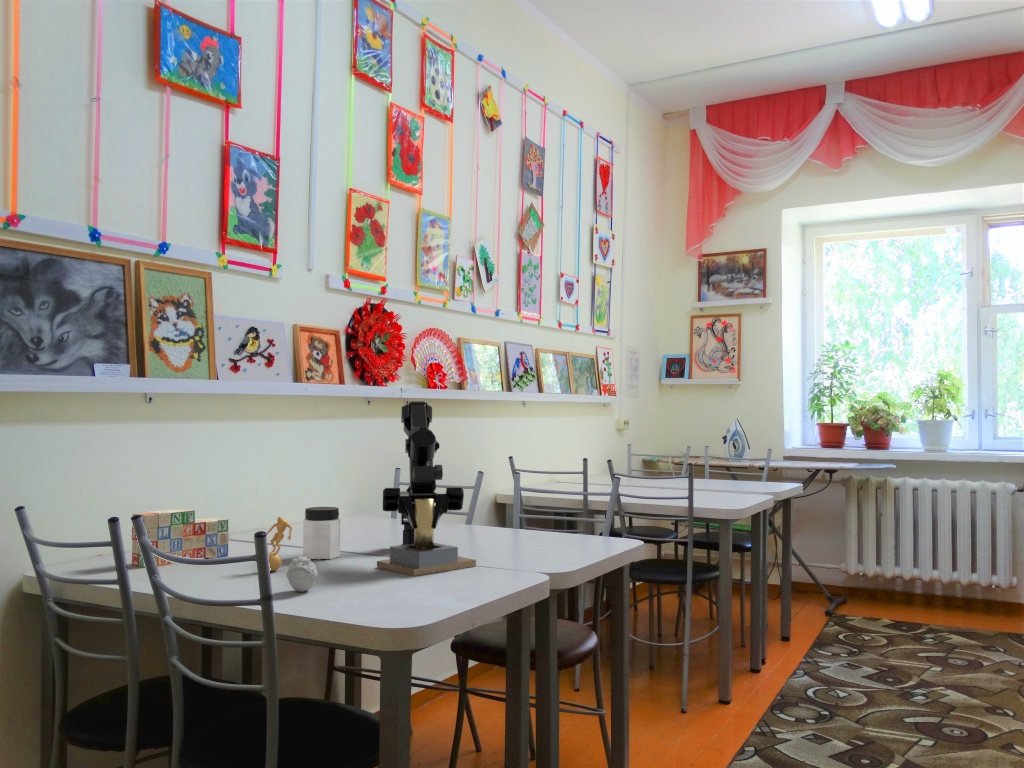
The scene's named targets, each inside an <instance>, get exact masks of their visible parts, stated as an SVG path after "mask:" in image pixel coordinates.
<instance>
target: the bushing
mask: <svg viewBox="0 0 1024 768" xmlns="http://www.w3.org/2000/svg"><path fill="white" fill-rule="evenodd" d="M434 506H435V503H434V499H433V498H417V499H415V529H414V549H419V550H425V549H433V548H434V543H435V541H434V539H435V538H434V536H435V535H434V534H435V533H434V532H435V531H434V530H435V529H434Z"/></svg>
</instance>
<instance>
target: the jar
mask: <svg viewBox="0 0 1024 768" xmlns="http://www.w3.org/2000/svg"><path fill="white" fill-rule="evenodd" d="M304 509H305V510H304V511H305V512H304V513H305V514H304V516H305V517H304V519H303V525H302V530H303V531H302V532H303V533H302V557H307V558H308V559H330V560H333V559H336V557H337V558H339V557H341V518H340V517H339V516H340V509H339V507H336V506H312V507H307V508H304Z"/></svg>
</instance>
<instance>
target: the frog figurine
mask: <svg viewBox="0 0 1024 768" xmlns="http://www.w3.org/2000/svg"><path fill="white" fill-rule="evenodd" d="M318 574H319V573H318V570H317V568H316V565H315V563H314V562H312V560H311V559H307V557H303V556H298V557H297V558H292V559H291V562H290V564H289V565H288V567H287V571H286V573H285V575H286V578H287V580H288V583H289V585H290V586H291V588H292V589H293V590H295V591H297V592H301V593H302V592H303V593H304V592H307V591H309V590H310V589H312V588H313V587H314V585H315V582H316V579H317V578H318V576H319V575H318Z"/></svg>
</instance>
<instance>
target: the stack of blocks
mask: <svg viewBox="0 0 1024 768" xmlns="http://www.w3.org/2000/svg"><path fill="white" fill-rule="evenodd" d="M134 515H141V516H142V517H143V522H144V525H145V527H146V530H147V534H148V538H149V540H150V542H151V543H152V545H153V546H155V547H156V548H157V549H159V550H160V551H163V552H165V553H169V554H172V555H177V556H182V557H190V558H212V559H216V558H217V559H219V558H225V557H228V556H229V519H228V518H221V517H209V518H197V519H196V510H194V509H189V508H188V509H186V508H174V509H161V510H160V509H159V510H155V511H154V510H153V511H146V512H145V511H144V512H133V513H132V517H133V516H134ZM131 546H132V548H131V551H132V552H131V565H132V566H135V567H139V568H144V569H146V568H145V566H144V562H143V558H142V555H141V551H140V548H139V545H138V541H137V538H136V534H135V531H134V528H133V525H132V526H131ZM154 558H155V561H156V563H157V566H156V567H162V566H171V565H176V563H172V562H169V561H166V560H163V559H161V558H159V557H157V556H155V555H154Z"/></svg>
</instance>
